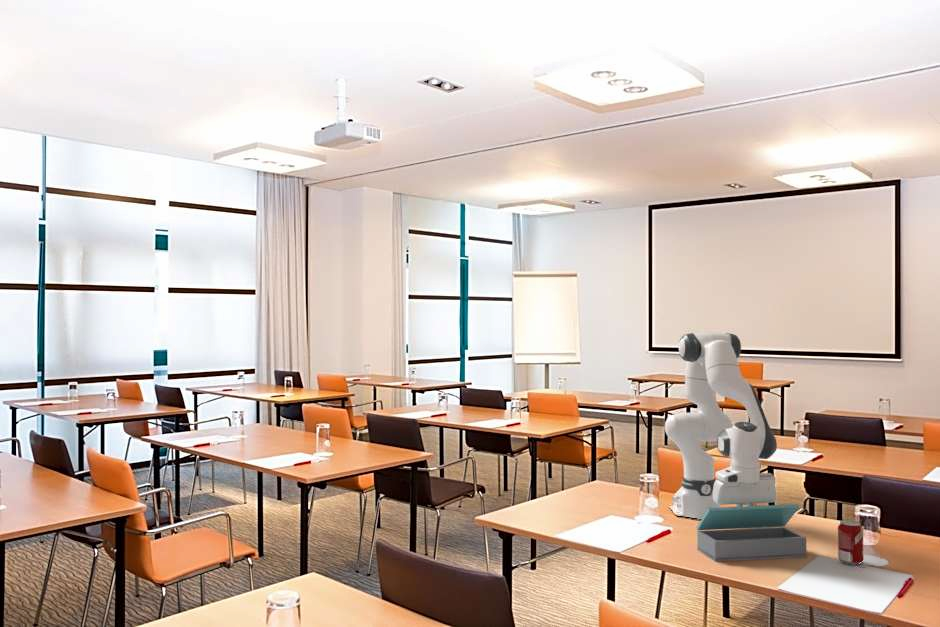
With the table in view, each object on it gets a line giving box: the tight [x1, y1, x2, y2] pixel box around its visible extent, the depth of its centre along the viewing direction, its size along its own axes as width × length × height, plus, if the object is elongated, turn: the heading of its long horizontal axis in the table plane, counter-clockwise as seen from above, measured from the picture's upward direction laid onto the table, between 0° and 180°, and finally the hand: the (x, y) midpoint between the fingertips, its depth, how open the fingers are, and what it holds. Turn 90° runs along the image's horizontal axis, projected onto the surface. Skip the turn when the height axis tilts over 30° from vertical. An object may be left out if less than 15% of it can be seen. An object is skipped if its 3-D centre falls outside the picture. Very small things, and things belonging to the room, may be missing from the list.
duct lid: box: [696, 503, 800, 531], centre depth 234 cm, size 12×30×1 cm
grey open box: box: [696, 526, 808, 562], centre depth 231 cm, size 12×30×6 cm, turn 98°
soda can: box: [837, 519, 865, 565], centre depth 222 cm, size 7×7×12 cm
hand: (744, 516), depth 235 cm, fingers closed, pressing on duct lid
